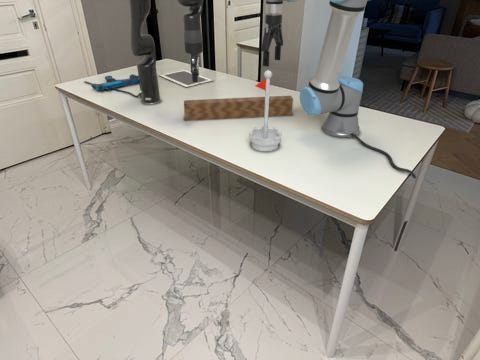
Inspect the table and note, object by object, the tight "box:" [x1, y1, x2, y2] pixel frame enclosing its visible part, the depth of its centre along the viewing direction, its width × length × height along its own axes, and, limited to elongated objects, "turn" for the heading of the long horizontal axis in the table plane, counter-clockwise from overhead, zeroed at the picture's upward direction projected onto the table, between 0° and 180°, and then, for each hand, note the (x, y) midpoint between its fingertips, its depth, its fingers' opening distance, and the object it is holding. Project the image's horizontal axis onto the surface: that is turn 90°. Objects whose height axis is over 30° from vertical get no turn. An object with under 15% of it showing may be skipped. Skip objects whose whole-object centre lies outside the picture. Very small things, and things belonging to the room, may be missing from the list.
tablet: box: [158, 69, 214, 88], centre depth 216 cm, size 32×20×1 cm, turn 41°
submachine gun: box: [90, 73, 140, 92], centre depth 207 cm, size 34×4×25 cm
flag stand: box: [248, 69, 283, 152], centre depth 130 cm, size 13×13×30 cm
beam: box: [183, 95, 294, 122], centre depth 162 cm, size 51×5×8 cm, turn 97°
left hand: (195, 78), depth 151 cm, fingers open, 8 cm apart
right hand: (271, 63), depth 163 cm, fingers open, 13 cm apart
